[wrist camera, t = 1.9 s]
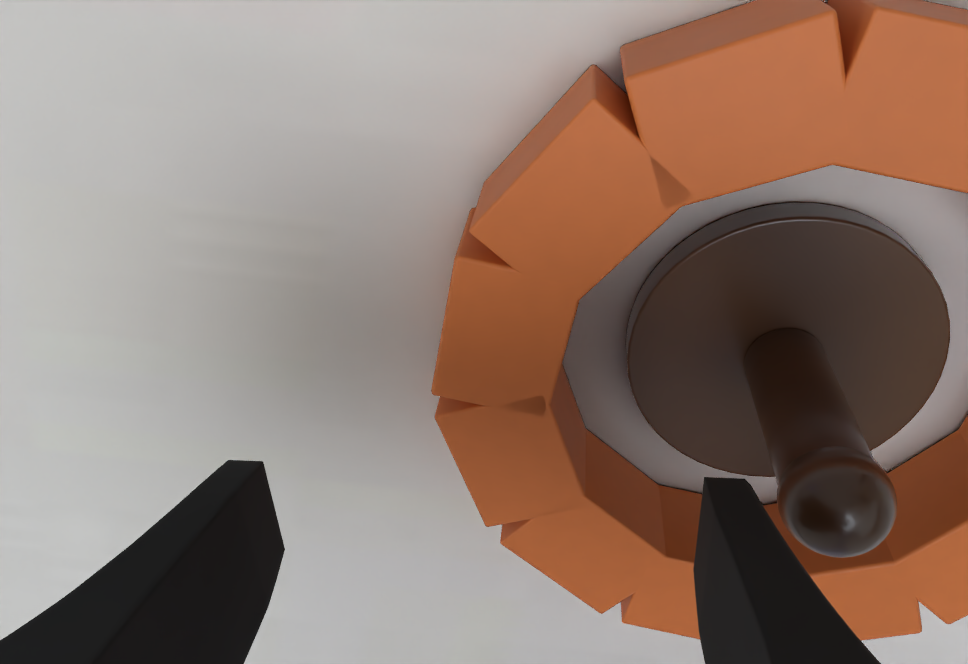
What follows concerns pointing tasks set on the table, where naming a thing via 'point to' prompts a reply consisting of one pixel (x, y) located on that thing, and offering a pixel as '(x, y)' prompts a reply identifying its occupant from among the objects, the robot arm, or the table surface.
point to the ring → (633, 218)
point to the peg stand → (792, 359)
